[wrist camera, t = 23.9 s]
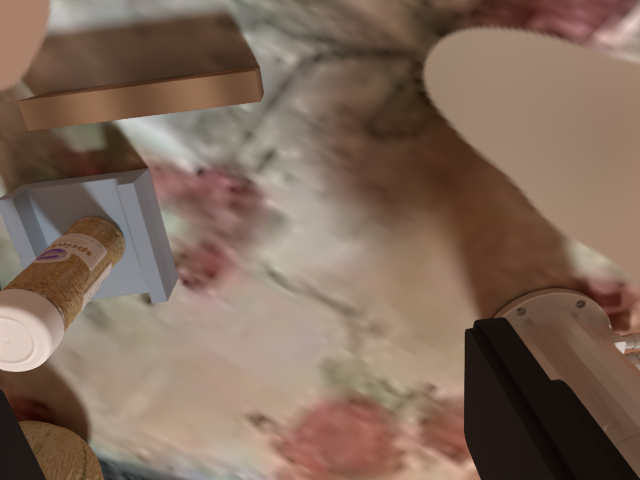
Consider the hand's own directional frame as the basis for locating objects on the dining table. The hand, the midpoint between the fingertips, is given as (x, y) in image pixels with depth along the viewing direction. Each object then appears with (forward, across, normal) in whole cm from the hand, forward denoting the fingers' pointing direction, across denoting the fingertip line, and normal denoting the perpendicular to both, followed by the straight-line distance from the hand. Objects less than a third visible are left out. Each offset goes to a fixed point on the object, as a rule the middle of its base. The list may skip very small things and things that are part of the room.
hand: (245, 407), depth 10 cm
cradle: (+30, +16, +7) cm, 35 cm away
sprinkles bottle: (+28, +16, +7) cm, 33 cm away
